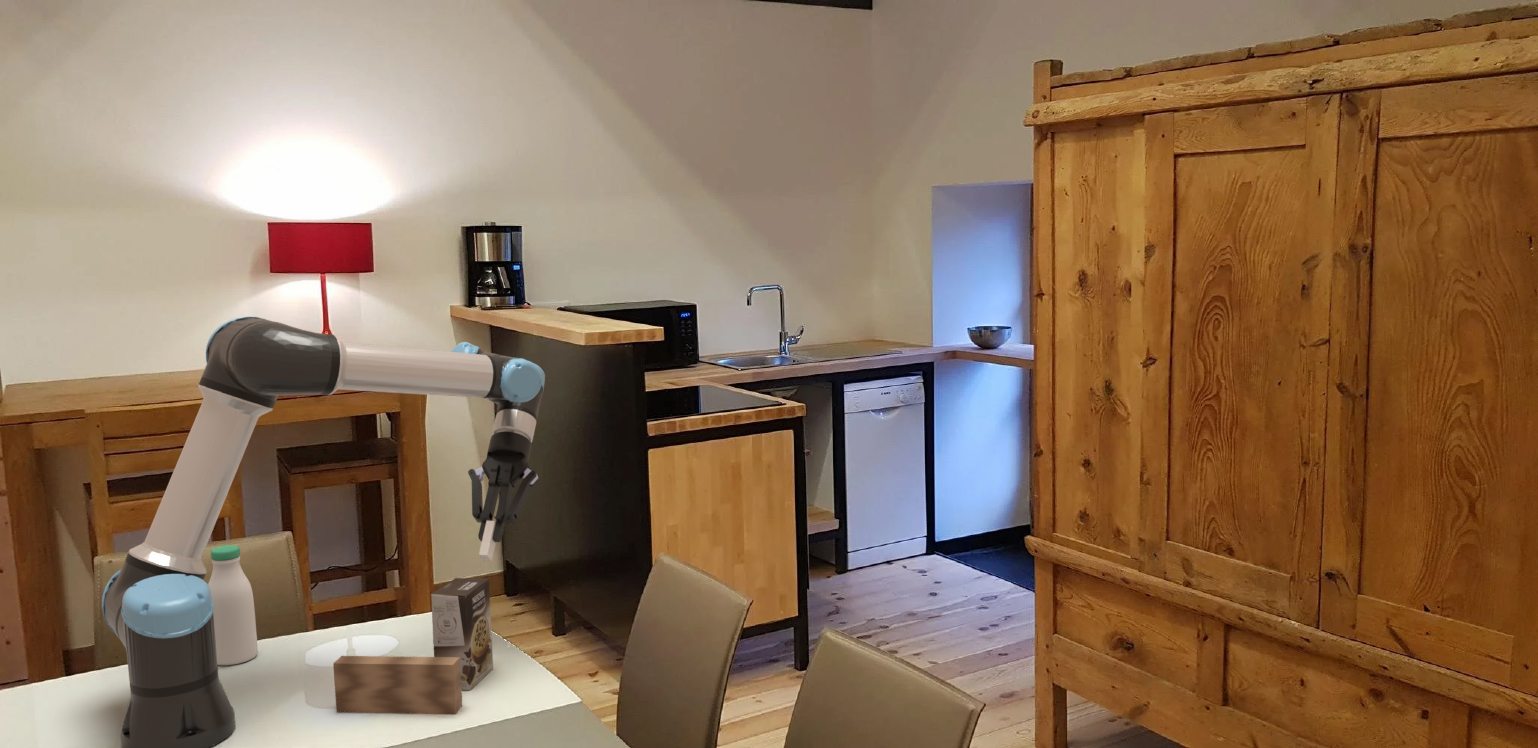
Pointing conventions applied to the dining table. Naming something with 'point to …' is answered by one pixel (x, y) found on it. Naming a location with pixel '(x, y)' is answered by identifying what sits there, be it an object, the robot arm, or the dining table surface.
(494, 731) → the dining table surface
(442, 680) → the wooden block
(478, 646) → the coffee box
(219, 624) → the milk bottle
